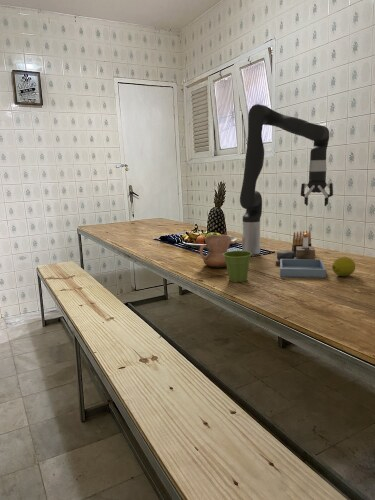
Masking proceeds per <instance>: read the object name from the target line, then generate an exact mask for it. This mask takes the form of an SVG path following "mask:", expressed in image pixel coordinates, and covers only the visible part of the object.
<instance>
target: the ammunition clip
mask: <svg viewBox="0 0 375 500" xmlns="http://www.w3.org/2000/svg"><path fill="white" fill-rule="evenodd" d="M302 233H309V236H308V247H312V233H311V230H309V231H308V230H306V231H304V230H303V231H297V232H296V231H294V232H293V235H292V236H293V238H292V245H291V251H293V252H294V254H296V247H303V236H302Z"/></svg>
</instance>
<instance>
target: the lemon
mask: <svg viewBox="0 0 375 500" xmlns="http://www.w3.org/2000/svg"><path fill="white" fill-rule="evenodd" d="M331 268H332V271H333V273H334V274H335V275H337V276H340V277H349V276H350V275H352V274H353V273H354V272H355V271H356V262H355V261H354V260H353V259H352V258H350V257H347V256H341V257H338V258H336V259H335V260H334V262H333V263H332V266H331Z"/></svg>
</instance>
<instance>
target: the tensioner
mask: <svg viewBox="0 0 375 500" xmlns="http://www.w3.org/2000/svg"><path fill="white" fill-rule="evenodd" d="M280 259H316V249H315V247H314V246H311V247H308V249H303V247H296V254H294V252H293V251H292V250H278V251H276V255H275V266H280Z"/></svg>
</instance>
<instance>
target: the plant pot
mask: <svg viewBox="0 0 375 500" xmlns="http://www.w3.org/2000/svg"><path fill="white" fill-rule="evenodd" d="M223 256H224V258H225V261H226V265H227V266H226V271H227V276H228V279H229V281H230V282H232V283H238V282H240V283H243V282H247V280H248V276H249V275H248V273H249V269H250V261H251V258H252V257H251V256H253V255H252V253H251V252H248V251H242V250H230V251H227V252H225V253H223Z"/></svg>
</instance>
